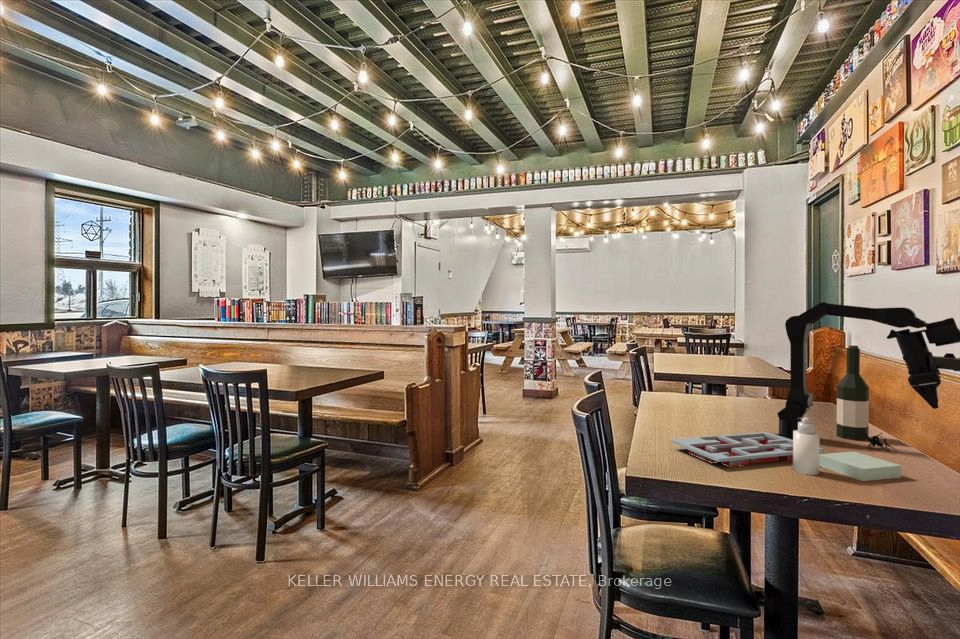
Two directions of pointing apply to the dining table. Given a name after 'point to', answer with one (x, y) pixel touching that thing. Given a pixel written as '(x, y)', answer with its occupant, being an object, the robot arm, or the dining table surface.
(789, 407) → the robot arm
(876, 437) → the creature
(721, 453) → the maze game
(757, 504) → the dining table surface
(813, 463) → the pepper mill
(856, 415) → the wine bottle
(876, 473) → the plinth
